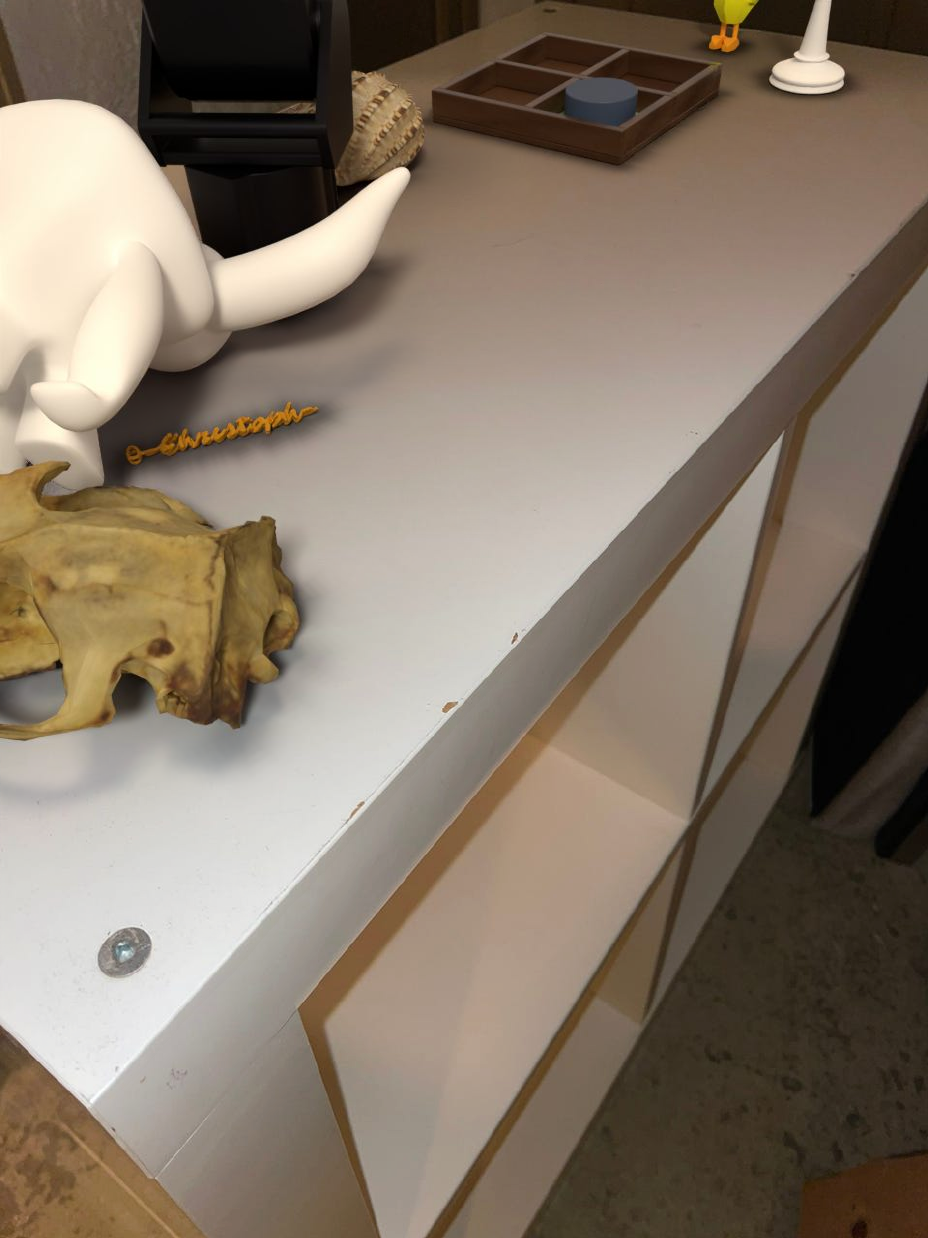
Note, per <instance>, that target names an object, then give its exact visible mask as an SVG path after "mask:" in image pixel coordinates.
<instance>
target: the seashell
mask: <svg viewBox="0 0 928 1238" xmlns="http://www.w3.org/2000/svg"><path fill="white" fill-rule="evenodd" d="M351 72H352V97H353V123H354V131H353V134H352V136H351V138H350V141H349V143H348V145H347V147H346V149H345V151H344V153H343V155H342V157H341V160H340V162H339V164H338V166H337V168H336V169H335V177H336V185H337V187H346V186H350V185H354V184H356V183H359V182H364V181H375V180H377V179H378V178H380V177H381V176H383V175H384V174H386V173H388V172H390V171H392V170H394V169H396V168H399V167H405V168H406V167H407V166H408V165H409V164H411V162H412V161H414V159H415V158H416V156H417V155H418V154H419V152H420V151H421V148H422V146H423V144H424V140H425V137H426V130H425V125H424V122H423V113H422V111H421V107H417V106H416V102H414V101H413V99H414V96H413V95H414V94H413V93H412V94H411V93H410V94H407V92H406V90H405V89H402V87H401V85H402V84H401V82H397V83H396V82H391V81H390V80H387V79H386V74H385V73H382V72H381V71H370V72H368V73H364V72H361V71H360V70H351ZM315 112H316V103H298V105H297V107H296V108H295V110H294V112H293V113H315Z"/></svg>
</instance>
